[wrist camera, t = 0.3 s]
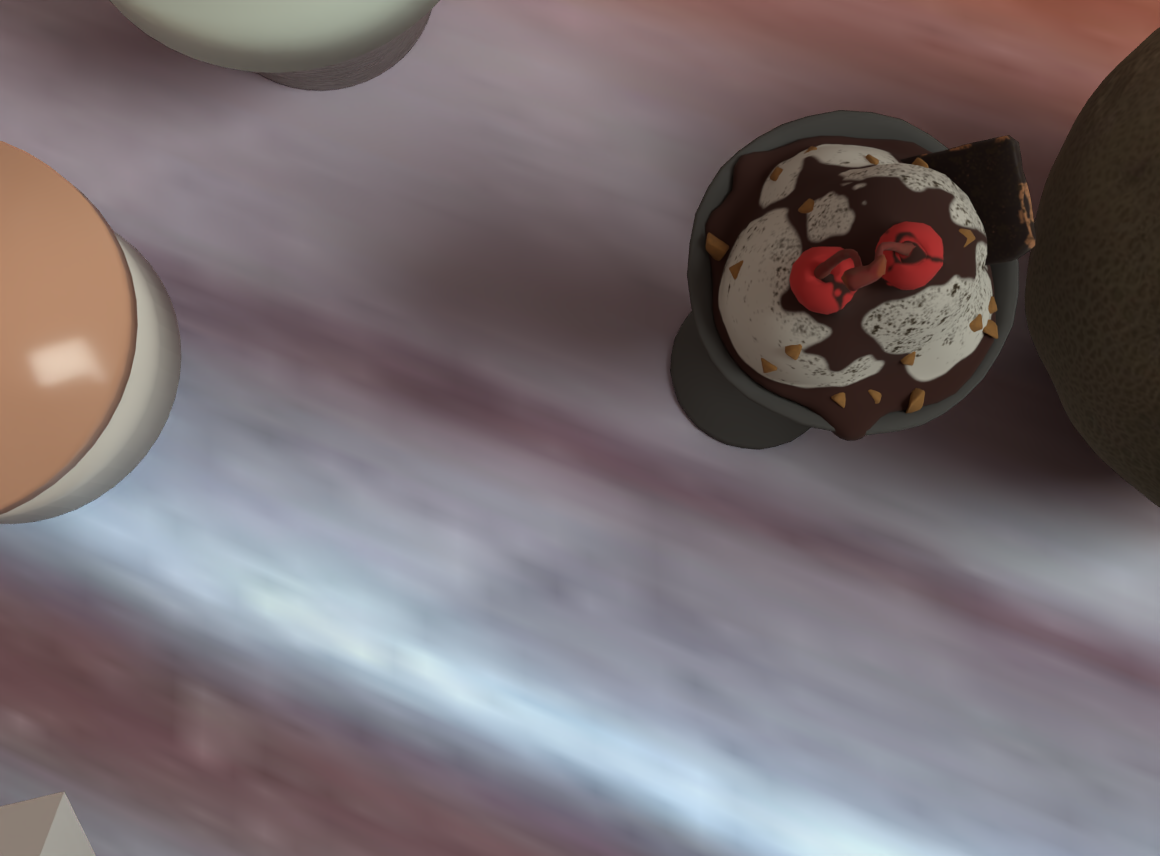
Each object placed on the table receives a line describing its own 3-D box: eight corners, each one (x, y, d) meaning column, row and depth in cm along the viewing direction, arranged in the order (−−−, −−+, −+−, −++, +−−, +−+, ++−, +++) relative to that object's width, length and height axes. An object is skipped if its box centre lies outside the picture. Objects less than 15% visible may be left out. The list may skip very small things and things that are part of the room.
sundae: (627, 463, 29) (703, 363, 14) (658, 245, 30) (760, -61, 15) (848, 496, 29) (1152, 430, 14) (872, 278, 30) (1181, 4, 15)
